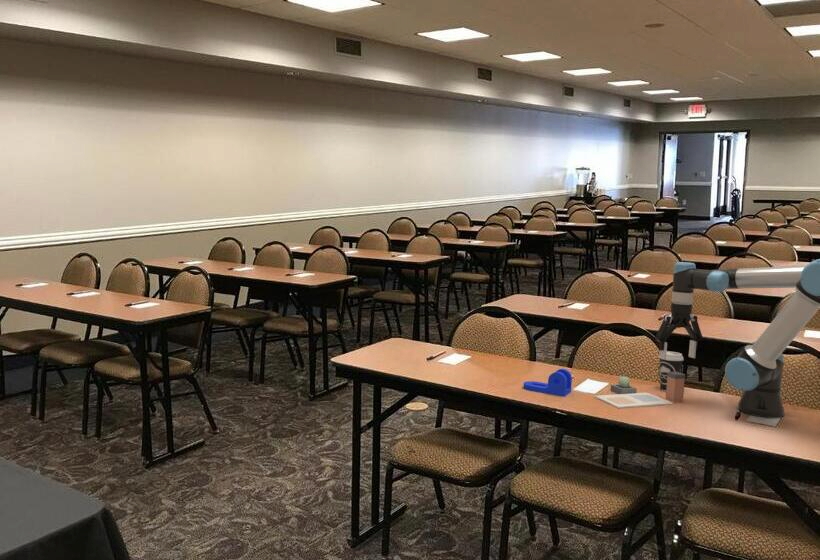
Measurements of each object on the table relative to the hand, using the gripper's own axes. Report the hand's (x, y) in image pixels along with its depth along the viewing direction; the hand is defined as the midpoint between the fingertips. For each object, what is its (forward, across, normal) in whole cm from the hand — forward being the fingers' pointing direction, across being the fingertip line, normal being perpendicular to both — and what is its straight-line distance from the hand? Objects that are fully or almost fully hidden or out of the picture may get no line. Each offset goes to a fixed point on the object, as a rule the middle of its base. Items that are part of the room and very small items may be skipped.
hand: (677, 358), depth 264 cm
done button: (+14, +13, -14) cm, 24 cm away
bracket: (+17, +43, -23) cm, 51 cm away
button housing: (+16, +13, -14) cm, 25 cm away
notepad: (+16, +17, -2) cm, 24 cm away
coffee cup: (+17, -9, -14) cm, 23 cm away
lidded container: (+16, 0, 0) cm, 16 cm away
